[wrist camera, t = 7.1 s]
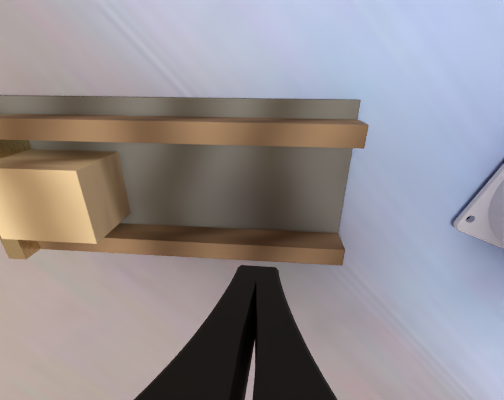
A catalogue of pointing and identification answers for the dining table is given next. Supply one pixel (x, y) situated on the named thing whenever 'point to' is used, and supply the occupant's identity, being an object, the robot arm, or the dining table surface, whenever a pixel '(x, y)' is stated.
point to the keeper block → (61, 195)
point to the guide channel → (209, 170)
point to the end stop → (13, 247)
